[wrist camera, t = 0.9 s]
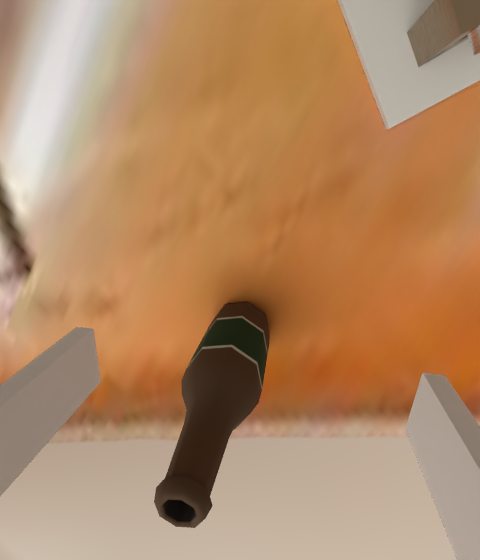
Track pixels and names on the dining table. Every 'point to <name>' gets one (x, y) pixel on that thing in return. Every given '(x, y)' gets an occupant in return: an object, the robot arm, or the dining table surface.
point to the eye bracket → (443, 27)
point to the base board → (404, 58)
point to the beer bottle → (214, 409)
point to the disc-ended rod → (475, 40)
